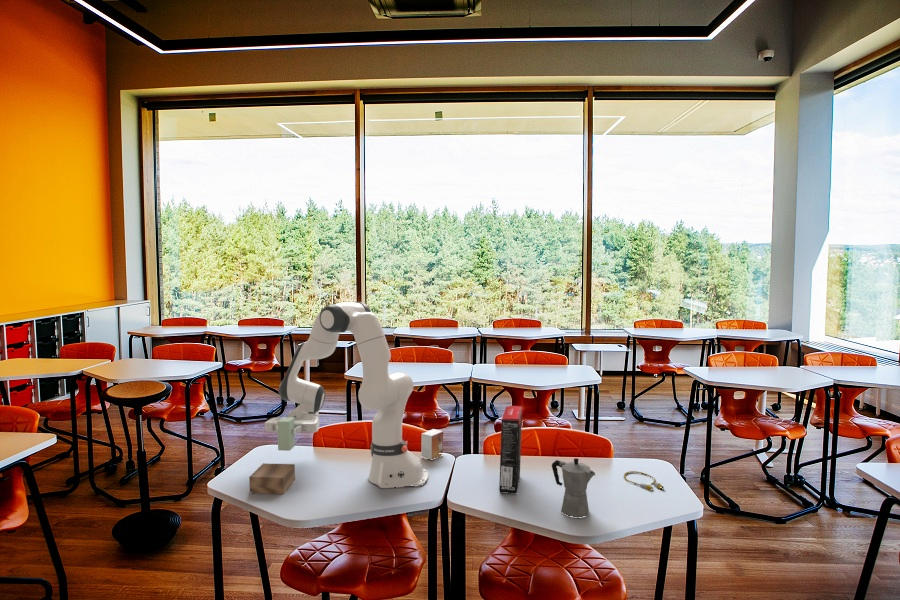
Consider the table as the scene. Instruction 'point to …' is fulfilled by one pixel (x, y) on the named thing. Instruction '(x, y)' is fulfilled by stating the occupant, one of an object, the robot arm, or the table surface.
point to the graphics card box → (510, 449)
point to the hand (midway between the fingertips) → (285, 431)
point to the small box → (432, 444)
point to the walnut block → (272, 478)
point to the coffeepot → (574, 486)
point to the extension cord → (646, 484)
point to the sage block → (285, 433)
